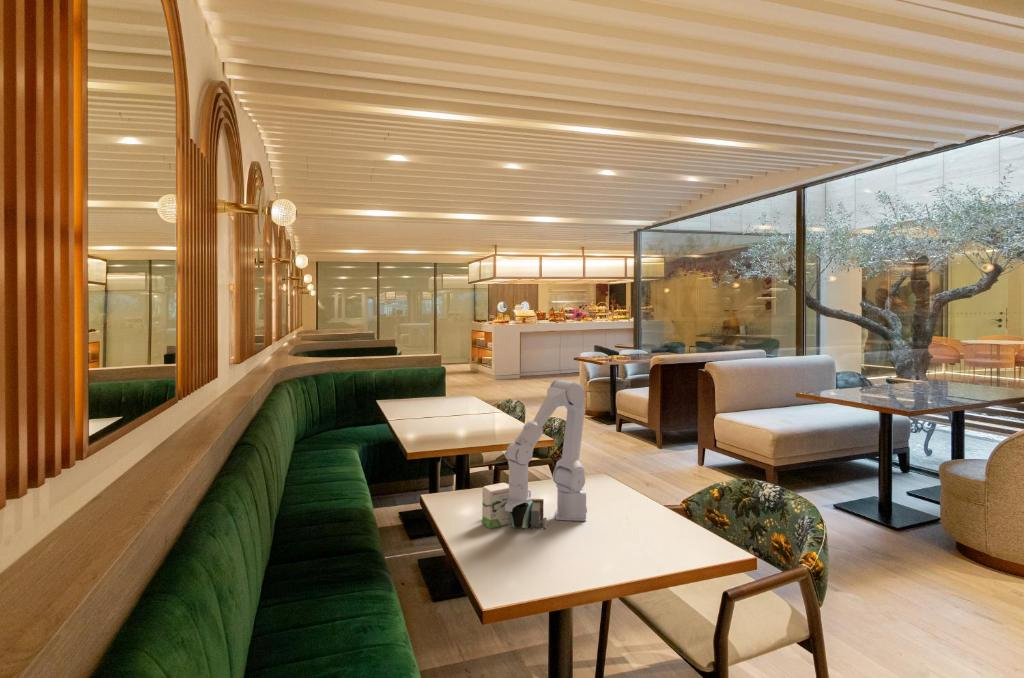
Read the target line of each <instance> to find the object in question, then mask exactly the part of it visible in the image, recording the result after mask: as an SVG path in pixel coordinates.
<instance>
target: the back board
mask: <svg viewBox="0 0 1024 678" xmlns="http://www.w3.org/2000/svg"><path fill="white" fill-rule="evenodd" d="M531 501H533V502H540V518H544V498H531Z"/></svg>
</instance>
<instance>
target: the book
mask: <svg viewBox="0 0 1024 678" xmlns="http://www.w3.org/2000/svg"><path fill="white" fill-rule="evenodd" d="M525 503H528V504H529V506H528V508H527V510H526V512H525V515H524V519H523V525H522V527H521V528H520V529H522V528H527V529H528V527H529V526H528V525H531V523H530V522H531V510H532V504H533V501H530V502H525ZM511 527H512V528H513V527H514V523H513V517H512V523H511ZM515 528H516V527H515ZM516 529H517V528H516Z"/></svg>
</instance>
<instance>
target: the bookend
mask: <svg viewBox="0 0 1024 678" xmlns="http://www.w3.org/2000/svg"><path fill="white" fill-rule="evenodd" d="M530 526H531V527H530V529H533V528H545V529H544V530H546V528H547V517H543V518H540V502H533V504H532V510H531V523H530Z"/></svg>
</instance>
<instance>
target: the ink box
mask: <svg viewBox="0 0 1024 678" xmlns="http://www.w3.org/2000/svg"><path fill="white" fill-rule="evenodd" d="M508 497H509V483H506V482H500V483H494V484H490V485H485V486H483V487H482V509H481V510H482V512H481V513H482V517H481V519H482V522H481V523H482V525H483V526H485V527H487V528H489V529H495V528H498V527H501V525H503V526H505V525H506V524H507V525H510V523H511V524H512V514H511V512H509V511H505V504H506V503H507V500H508ZM497 526H498V527H497Z"/></svg>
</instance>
